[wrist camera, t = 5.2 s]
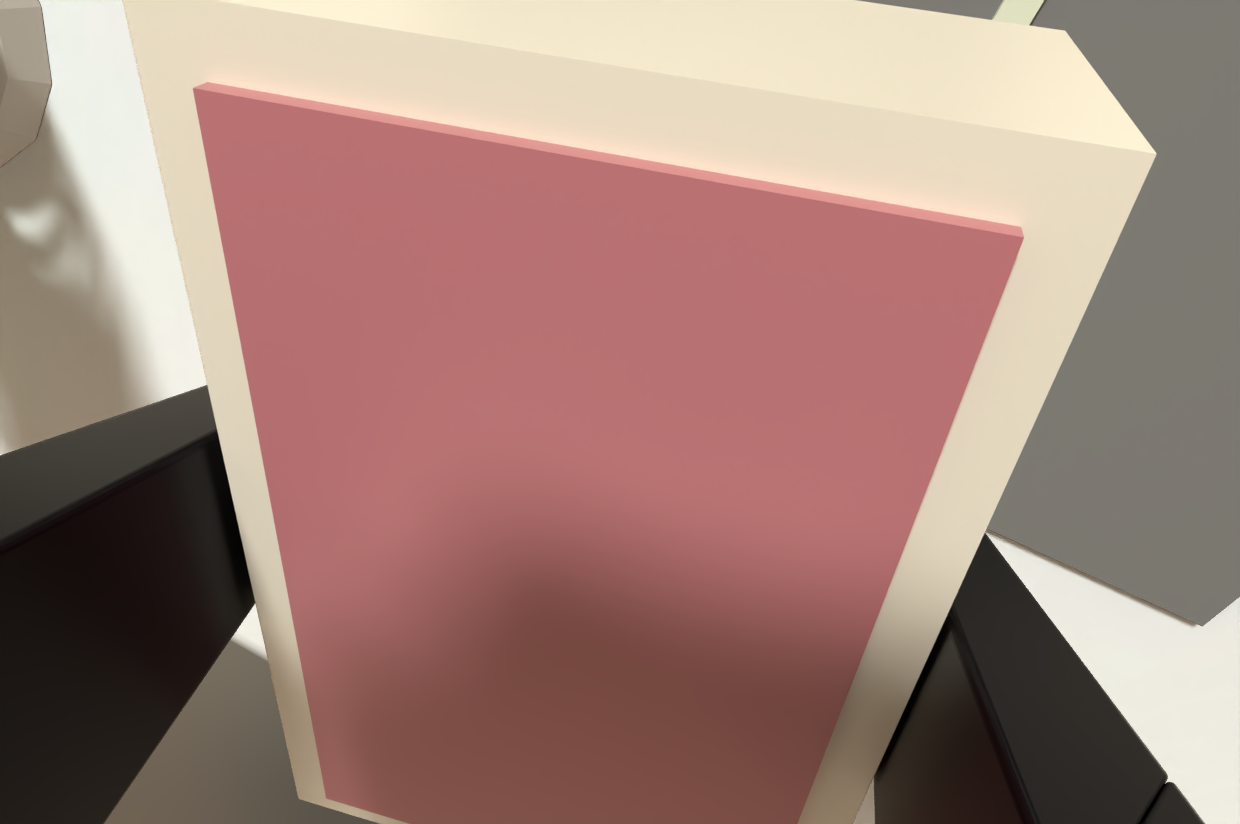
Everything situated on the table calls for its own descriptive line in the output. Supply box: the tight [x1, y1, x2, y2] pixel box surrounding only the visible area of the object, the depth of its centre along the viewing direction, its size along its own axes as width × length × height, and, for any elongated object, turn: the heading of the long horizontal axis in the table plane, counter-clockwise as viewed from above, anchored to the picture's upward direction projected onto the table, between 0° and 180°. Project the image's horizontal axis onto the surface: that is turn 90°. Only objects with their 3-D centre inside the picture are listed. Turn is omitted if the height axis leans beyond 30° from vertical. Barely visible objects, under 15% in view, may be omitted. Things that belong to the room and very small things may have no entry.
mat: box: [858, 0, 1240, 626], centre depth 18 cm, size 24×14×1 cm, turn 70°
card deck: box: [122, 0, 1157, 824], centre depth 9 cm, size 9×6×3 cm, turn 174°
